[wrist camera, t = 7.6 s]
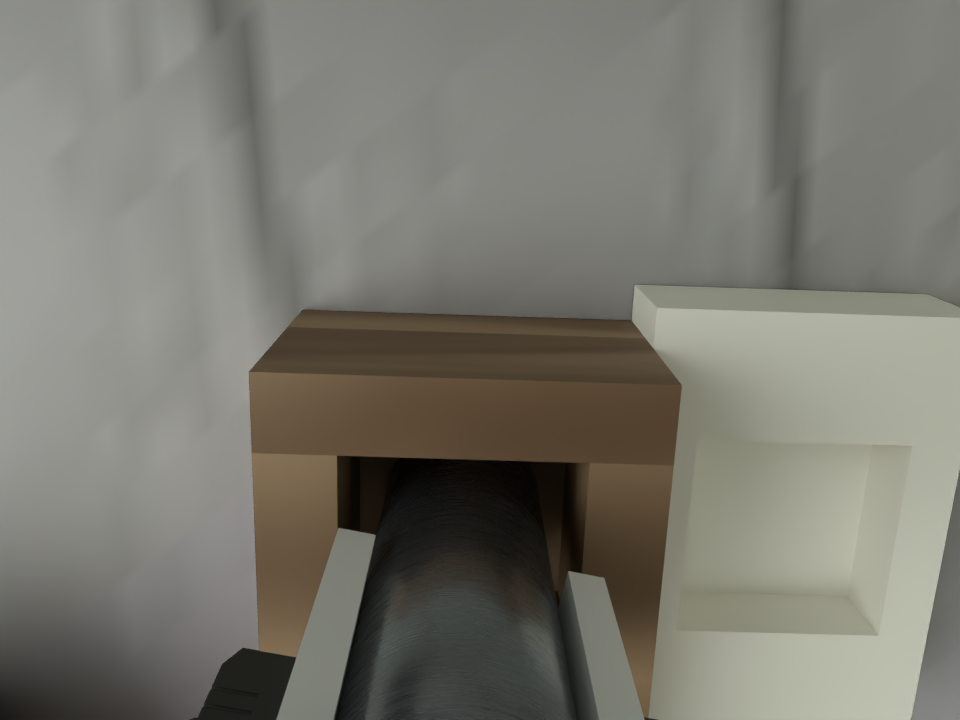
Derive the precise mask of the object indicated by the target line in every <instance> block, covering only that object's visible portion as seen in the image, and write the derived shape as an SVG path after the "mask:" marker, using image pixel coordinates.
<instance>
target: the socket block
mask: <svg viewBox="0 0 960 720" xmlns="http://www.w3.org/2000/svg"><path fill="white" fill-rule="evenodd" d="M249 390H250V417H251V443H252V470H253V497H254V524H255V551H256V578H257V605H258V632H259V651H263V652H269V653H274V654H280V655H286V656H291V657H297V654H298V651H299V648H300V645H301V642H302V639H303V636H304V633H305V630H306V627H307V624H308V620H309V617H310V614H311V611H312V608H313V605H314V602H315V599H316V596H317V593H318V590H319V586H320V583H321V580H322V577H323V574H324V571H325V568H326V565H327V562H328V559H329V556H330V553H331V549H332V546H333V543H334V540H335V537H336V534H337V531H338V528H342V529H347V530H352V531H358V532H363V533H368V534H374V535H376V533H377V529H378V524H379V520H380V516H381V511H382V507H383V503H384V498H385V494H386V489H387V485H388V481H389V477H390V474H391V471H392V469H393V467H394V465H395V463H396V461H397V460H398V458H433V459H467V460H501V461H528V463H529V465H530V467H531V469H532V471H533V474H534V477H535V480H536V485H537V491H538V497H539V502H540V508H541V514H542V520H543V525H544V531H545V537H546V543H547V549H548V554H549V560H550V566H551V572H552V578H553V583H554V589H555V595H556V601H557V606H558V608H559V604H560V600H561V596H562V592H563V589H564V585H565V581H566V577H567V574H568V571H570V572H576V573H581V574H586V575H592V576H597V577H602V578H604V579H605V582H606V586H607V589H608V593H609V596H610V600H611V603H612V607H613V610H614V614H615V617H616V621H617V624H618V628H619V631H620V635H621V638H622V642H623V646H624V649H625V653H626V656H627V660H628V663H629V667H630V670H631V674H632V677H633V681H634V684H635V688H636V691H637V695H638V698H639V702H640V705H641V709H642V712H643V716H644V717H646V718H648V716H649V706H650V696H651V687H652V677H653V667H654V657H655V647H656V637H657V627H658V617H659V607H660V598H661V588H662V578H663V568H664V558H665V548H666V538H667V528H668V518H669V508H670V499H671V489H672V479H673V469H674V459H675V449H676V439H677V429H678V419H679V410H680V400H681V390H682V385H681V383H680V382H679V381H678V380H677V378H676V377H675V376H674V374H673V373H672V372H671V371H670V369H669V368H668V367H667V365H666V364H665V363H664V362H663V360H662V359H661V358H660V356H659V355H658V354H657V352H656V351H655V350H654V349H653V347H652V346H651V345H650V343H649V342H648V341H647V340H646V338H645V337H644V336H643V334H642V333H641V332H640V331H639V329H638V328H637V327H636V325H635V324H634V323H633V322H632V321H631V320H600V319H569V318H538V317H507V316H476V315H445V314H414V313H383V312H352V311H321V310H302V311H301V313H300V314H299V315H298V316H297V317H296V318H295V319H294V321H293V322H292V323H291V324H290V325H289V326H288V327H287V329H286V330H285V331H284V332H283V333H282V334H281V335H280V337H279V338H278V339H277V340H276V341H275V342H274V344H273V345H272V346H271V347H270V348H269V349H268V350H267V352H266V353H265V354H264V355H263V356H262V357H261V358H260V360H259V361H258V362H257V363H256V364H255V365H254V366H253V368H252V369H251V370H250V371H249ZM375 537H376V536H375ZM374 542H375V541H374Z"/></svg>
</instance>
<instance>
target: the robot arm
mask: <svg viewBox="0 0 960 720" xmlns="http://www.w3.org/2000/svg"><path fill="white" fill-rule="evenodd" d="M375 536H376V535H374V534H368V533H363V532H358V531H352V530H347V529H342V528H338V531H337V534H336V537H335V540H334V543H333V546H332V549H331V553H330V556H329V559H328V562H327V565H326V568H325V571H324V574H323V577H322V580H321V583H320V586H319V590H318V593H317V596H316V599H315V602H314V605H313V608H312V611H311V614H310V617H309V620H308V624H307V627H306V630H305V633H304V636H303V639H302V642H301V645H300V648H299V651H298V654H297V657H291V656H286V655H280V654H274V653H269V652H263V651H257V650H252V649H246V648H242V649H241V650H240V651H238V652H237V653H236V654H235V655H233V656H232V657H231V658H229V659H228V660H227V661H226V662H224V663H223V664H222V666H221V668H220V670H219V672H218V675H217V677H216V679H215V681H214V683H213V685H212V689H211V690H210V692H209V694H208V696H207V699H206V701H205V703H204V707H202V710H201V712H200V714H199V716H198V718H193V719H190V720H335V718H336V714H337V709H338V705H339V701H340V696H341V692H342V687H343V683H344V678H345V674H346V670H347V665H348V661H349V656H350V652H351V648H352V643H353V639H354V634H355V630H356V626H357V621H358V617H359V612H360V608H361V603H362V599H363V595H364V590H365V586H366V581H367V577H368V572H369V567H370V562H371V557H372V552H373V546H374V541H375ZM558 612H559V618H560V624H561V630H562V635H563V641H564V647H565V653H566V658H567V664H568V670H569V676H570V682H571V687H572V693H573V699H574V705H575V711H576V716H577V720H657V719H651V718H646V717H644V716H643V712H642V709H641V705H640V702H639V698H638V695H637V691H636V688H635V684H634V681H633V677H632V674H631V670H630V667H629V663H628V660H627V656H626V653H625V649H624V646H623V642H622V638H621V635H620V631H619V628H618V624H617V621H616V617H615V614H614V610H613V607H612V603H611V600H610V596H609V593H608V589H607V586H606V582H605V579H604V578H602V577H597V576H592V575H586V574H581V573H576V572H570V571H568V574H567V577H566V581H565V585H564V589H563V592H562V596H561V600H560V604H559V608H558Z"/></svg>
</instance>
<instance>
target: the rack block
mask: <svg viewBox="0 0 960 720" xmlns="http://www.w3.org/2000/svg"><path fill="white" fill-rule="evenodd" d="M632 322H633V323H634V324H635V325H636V327H637V328H638V329H639V331H640V332H641V333H642V334H643V336H644V337H645V338H646V340H647V341H648V342H649V343H650V345H651V346H652V347H653V349H654V350H655V351H656V352H657V354H658V355H659V356H660V358H661V359H662V360H663V362H664V363H665V364H666V365H667V367H668V368H669V369H670V371H671V372H672V373H673V374H674V376H675V377H676V378H677V380H678V381H679V382H680V383H681V385H682V390H681V400H680V410H679V419H678V429H677V439H676V449H675V459H674V469H673V479H672V489H671V499H670V508H669V518H668V528H667V538H666V548H665V558H664V568H663V578H662V588H661V598H660V607H659V617H658V627H657V637H656V647H655V657H654V667H653V677H652V687H651V696H650V706H649V716H648V718H651V719H657V720H911V716H912V711H913V706H914V701H915V695H916V690H917V685H918V680H919V675H920V670H921V665H922V660H923V654H924V649H925V644H926V639H927V634H928V629H929V624H930V619H931V613H932V608H933V603H934V598H935V593H936V588H937V583H938V577H939V572H940V567H941V562H942V557H943V552H944V547H945V542H946V536H947V531H948V526H949V521H950V516H951V511H952V506H953V501H954V495H955V490H956V485H957V480H958V475H959V470H960V307H958V306H955V305H953V304H950V303H948V302H945V301H943V300H940V299H937V298H935V297H932V296H930V295H927V294H904V293H874V292H843V291H813V290H783V289H753V288H722V287H692V286H662V285H635V287H634V299H633V311H632Z"/></svg>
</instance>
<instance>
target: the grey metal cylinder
mask: <svg viewBox="0 0 960 720" xmlns="http://www.w3.org/2000/svg"><path fill="white" fill-rule="evenodd" d="M335 720H577V716H576V711H575V705H574V699H573V693H572V687H571V682H570V676H569V670H568V664H567V658H566V653H565V647H564V641H563V635H562V630H561V624H560V618H559V612H558V606H557V601H556V595H555V589H554V583H553V578H552V572H551V566H550V560H549V554H548V549H547V543H546V537H545V531H544V525H543V520H542V514H541V508H540V502H539V497H538V491H537V485H536V480H535V477H534V474H533V471H532V469H531V467H530V465H529V463H528V461H501V460H467V459H433V458H398V460H397V461H396V463H395V465H394V467H393V469H392V471H391V474H390V477H389V481H388V485H387V489H386V494H385V498H384V503H383V507H382V511H381V516H380V520H379V524H378V529H377V533H376V537H375V542H374V546H373V552H372V557H371V562H370V567H369V572H368V577H367V581H366V586H365V590H364V595H363V599H362V603H361V608H360V612H359V617H358V621H357V626H356V630H355V634H354V639H353V643H352V648H351V652H350V656H349V661H348V665H347V670H346V674H345V678H344V683H343V687H342V692H341V696H340V701H339V705H338V709H337V714H336V718H335Z"/></svg>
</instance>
